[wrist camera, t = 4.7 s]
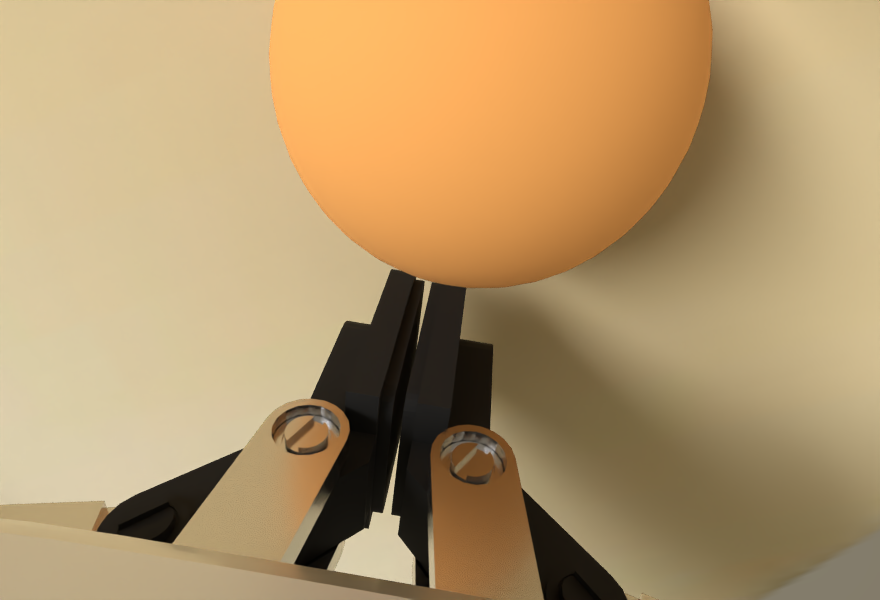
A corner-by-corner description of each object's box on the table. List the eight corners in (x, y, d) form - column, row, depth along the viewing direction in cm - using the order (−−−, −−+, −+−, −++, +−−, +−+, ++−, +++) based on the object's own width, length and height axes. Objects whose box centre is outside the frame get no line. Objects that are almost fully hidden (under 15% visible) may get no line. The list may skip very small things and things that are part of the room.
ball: (715, 180, 3) (789, -440, 5) (83, 154, 6) (250, -261, 7) (667, 354, 9) (707, 43, 10) (353, 306, 11) (418, 56, 12)
